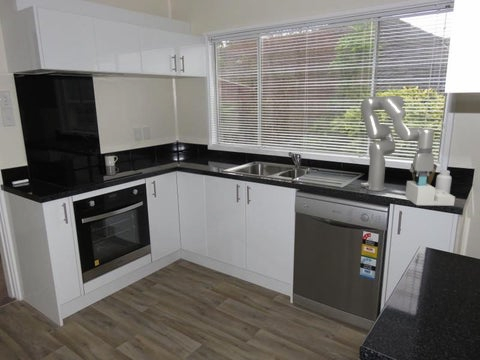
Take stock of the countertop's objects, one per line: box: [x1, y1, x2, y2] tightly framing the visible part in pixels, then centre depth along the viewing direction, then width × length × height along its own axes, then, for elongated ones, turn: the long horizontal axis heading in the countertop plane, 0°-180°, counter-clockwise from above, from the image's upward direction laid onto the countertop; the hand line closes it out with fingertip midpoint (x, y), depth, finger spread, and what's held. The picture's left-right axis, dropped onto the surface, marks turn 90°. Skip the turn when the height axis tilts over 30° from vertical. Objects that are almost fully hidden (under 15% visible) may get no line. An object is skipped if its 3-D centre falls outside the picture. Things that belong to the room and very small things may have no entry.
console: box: [405, 180, 456, 206], centre depth 199 cm, size 20×16×10 cm
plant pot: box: [410, 162, 438, 185], centre depth 226 cm, size 15×15×16 cm
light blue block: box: [416, 172, 427, 186], centre depth 198 cm, size 4×4×11 cm
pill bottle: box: [434, 169, 453, 194], centre depth 211 cm, size 8×8×15 cm
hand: (420, 182), depth 198 cm, fingers closed on light blue block, 4 cm apart
